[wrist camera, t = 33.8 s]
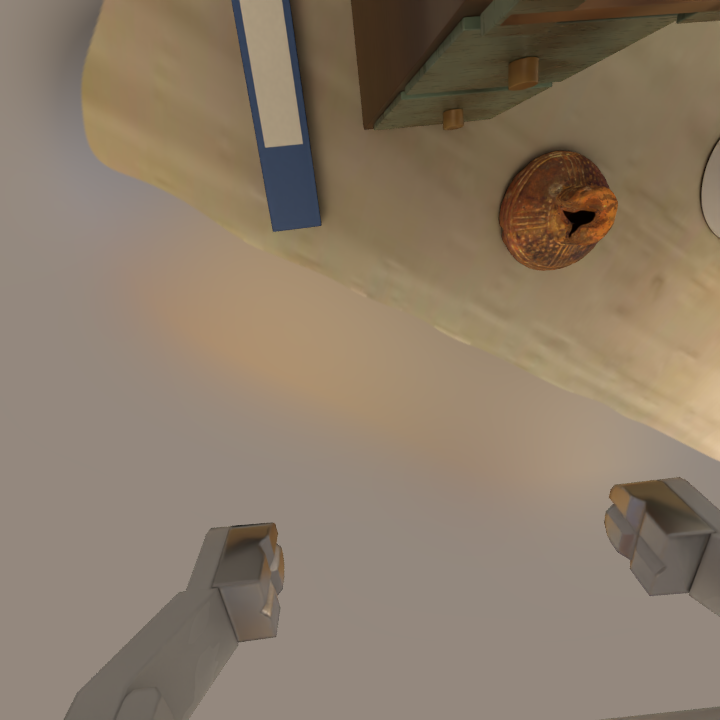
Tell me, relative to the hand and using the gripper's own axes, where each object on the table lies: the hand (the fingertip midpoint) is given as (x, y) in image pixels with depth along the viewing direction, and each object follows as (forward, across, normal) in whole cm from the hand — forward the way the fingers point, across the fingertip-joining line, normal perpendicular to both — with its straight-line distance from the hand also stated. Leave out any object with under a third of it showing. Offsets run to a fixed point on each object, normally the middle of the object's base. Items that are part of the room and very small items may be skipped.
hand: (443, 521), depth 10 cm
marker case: (+36, +6, -13) cm, 38 cm away
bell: (+38, -20, -1) cm, 43 cm away
